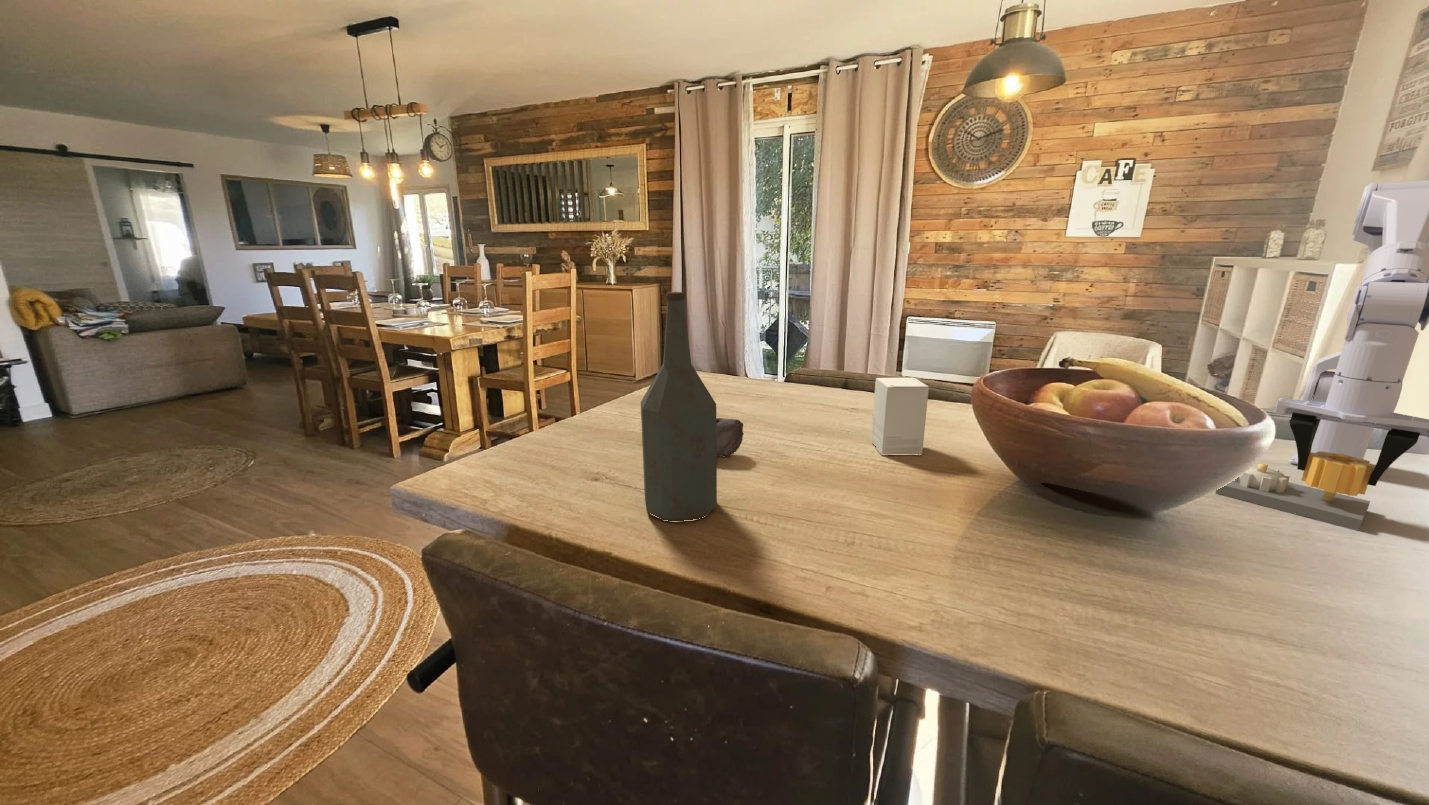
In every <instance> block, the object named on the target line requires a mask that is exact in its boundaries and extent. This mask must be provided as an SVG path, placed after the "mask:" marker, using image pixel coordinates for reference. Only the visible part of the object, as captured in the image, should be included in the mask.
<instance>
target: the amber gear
mask: <svg viewBox="0 0 1429 805" xmlns="http://www.w3.org/2000/svg"><path fill="white" fill-rule="evenodd" d="M1370 462H1371V461H1370V460H1367V459H1365V458H1364V459H1358V458H1356V457H1351V456H1349V455H1345V454H1340V453H1339V454H1336V453H1328V452H1324V451H1318V452H1316V453H1312V452H1310V453H1309V457H1308V460H1307V464H1306V468H1305V470H1304V471H1303V473H1302V477H1301V480H1300V481H1301V482H1305V483H1304V484H1305V486H1307V487H1312V488H1316V489H1320V490H1324V491H1326V492H1331V493H1334V492H1335V493H1337V494H1342V495H1346V496H1350V497H1355V496H1356V497H1357V496H1358V495H1365V494H1366V491H1367V489H1368V486H1369V485H1367V484H1368V481H1369V478H1370V476H1371V474H1372V472H1373V470H1374V468H1375V466H1376V464H1373V463H1370Z"/></svg>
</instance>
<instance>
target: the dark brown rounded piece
mask: <svg viewBox="0 0 1429 805" xmlns="http://www.w3.org/2000/svg"><path fill="white" fill-rule="evenodd" d="M744 435H745V433H744V423H743V422H742V421H741V420H739V419H736V418H735V419H734V418H722V417H716V437H717V456H721V455H722V456H725V457H724V458H729V456H730V457H731V455H734V454H735V453H736V452H738V449H739V448H740V446H741V444H742V442H743V438H744ZM734 452H735V453H734Z"/></svg>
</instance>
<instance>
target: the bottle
mask: <svg viewBox="0 0 1429 805" xmlns="http://www.w3.org/2000/svg"><path fill="white" fill-rule="evenodd" d="M665 296H666V301H667V304H666V305H667V306H666V307H667V308H666V316H665V318H666V319H665V333H664V347H663V358H662V359H663V361H662V365H661V366H660V368H659V370H658V371H657V373H656V375H655V377H654V379H653V380H652V382H651V384H650V385H649V386H648V388H647V390H646V392H645V394H644V395H643V398H642V399H641V401H640V416H641V418H640V419H641V420H640V421H641V423H640V424H641V442H642V443H641V444H642V460H643V461H642V462H643V464H642V465H643V486H644V503H645V508H646V512H648V514H649V513H651V514H653V515H655V516H657V517H659V518H661V519H663V520H668V521H684V520H693V519H699V518H702V517H704V516H706V515H707V514H708V513H709V512H710V511H711V510H712V509H713V508H715V507H716V506H717V504H718V503H717V502H718V499H717V498H718V496H717V494H718V493H717V492H718V490H717V488H718V487H717V486H718V481H717V480H718V479H717V476H718V473H717V470H718V469H717V467H718V466H717V462H718V461H717V459H718V458H717V437H716V418H717V403H716V401H715V400H714V398H713V396H712V395H711V393H710V392H709V390H708V388H707V387H706V385H705V383H704V381H703V380H702V379H701V377H700V375H699V373H698V372H697V371H696V369H695V367H694V366H693V364H692V359H691V352H690V351H691V349H690V342H689V341H690V340H689V334H688V324H687V317H686V308H685V297H686V295H685V293H684V292H683V291H669V292H667V293H666V295H665ZM713 510H714V509H713ZM713 510H712V511H713ZM712 511H711V512H712ZM711 512H710V513H711ZM710 513H709V514H710ZM709 514H708V515H709ZM708 515H707V516H708ZM702 519H703V518H702ZM699 520H700V519H699Z"/></svg>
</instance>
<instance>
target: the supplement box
mask: <svg viewBox="0 0 1429 805" xmlns="http://www.w3.org/2000/svg"><path fill="white" fill-rule="evenodd" d="M874 383H875V385H874V397H873V412H872V422H871V423H872V424H871V436H870V437H871V438H870V442H871V441H872V443H874V445H875V446H876V447H877V449H878V450H879V451H880V452H881V454H918V455H919V454H922V455H923V450H924V449H923V448H924V440H925V432H926V431H925V430H926V429H925V428H926V419H927V410H928V409H927V408H928V401H929V400H928V399H929V389H930V387H929V385H927V384H926V383H924V382H922V381H921V380H919V379H918V378H916V377H876V378H875V382H874ZM872 443H871V444H872ZM874 445H873V446H874ZM875 446H874V447H875ZM877 449H876V450H877ZM878 450H877V451H878ZM879 451H878V452H879ZM880 452H879V453H880ZM881 454H880V455H881Z"/></svg>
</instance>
